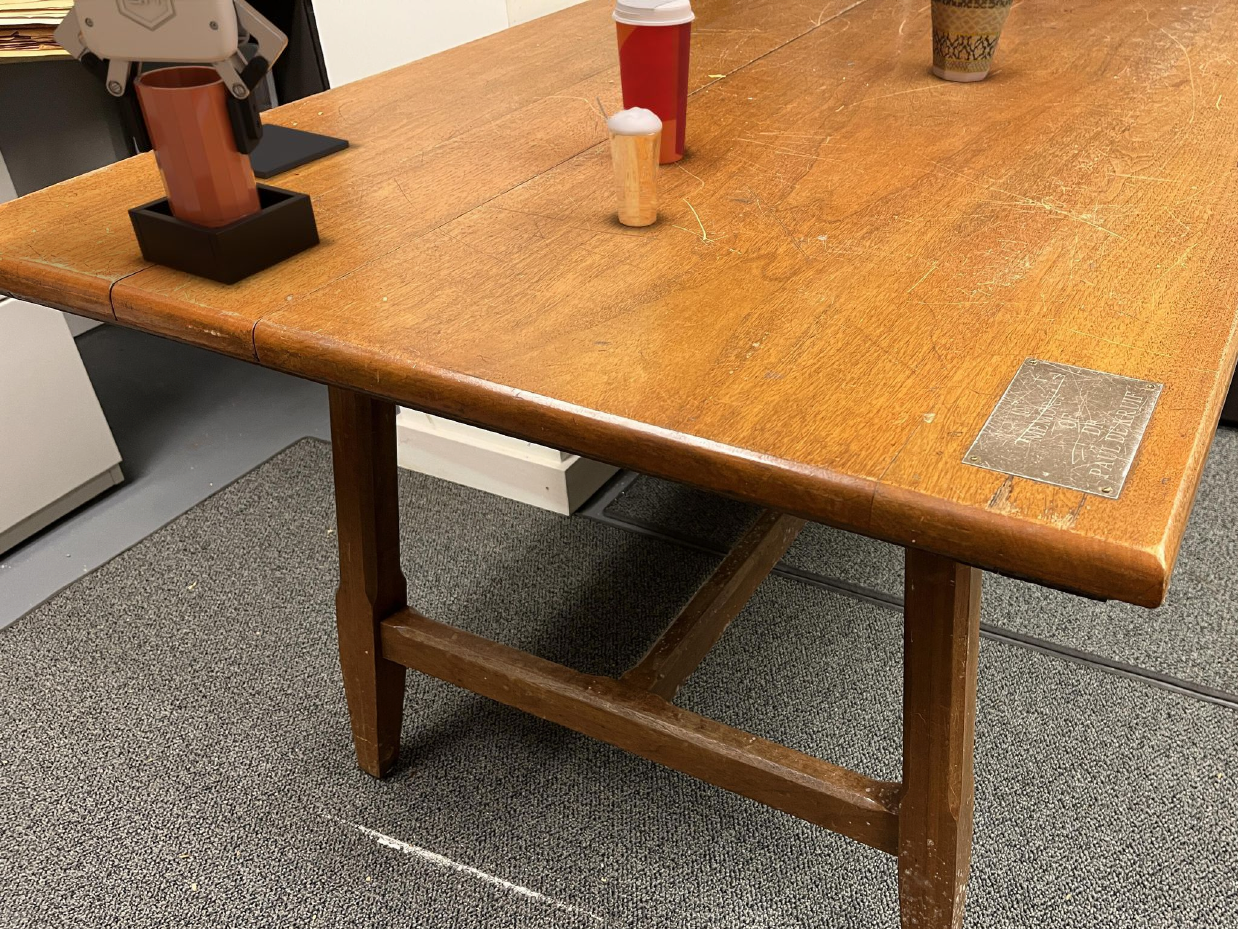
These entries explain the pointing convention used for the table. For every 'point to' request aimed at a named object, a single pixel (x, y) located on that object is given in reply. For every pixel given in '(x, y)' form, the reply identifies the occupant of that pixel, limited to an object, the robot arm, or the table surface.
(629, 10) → the paper cup
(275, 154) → the coaster
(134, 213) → the open black box
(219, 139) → the cup
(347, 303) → the table surface
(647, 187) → the milkshake
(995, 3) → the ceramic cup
